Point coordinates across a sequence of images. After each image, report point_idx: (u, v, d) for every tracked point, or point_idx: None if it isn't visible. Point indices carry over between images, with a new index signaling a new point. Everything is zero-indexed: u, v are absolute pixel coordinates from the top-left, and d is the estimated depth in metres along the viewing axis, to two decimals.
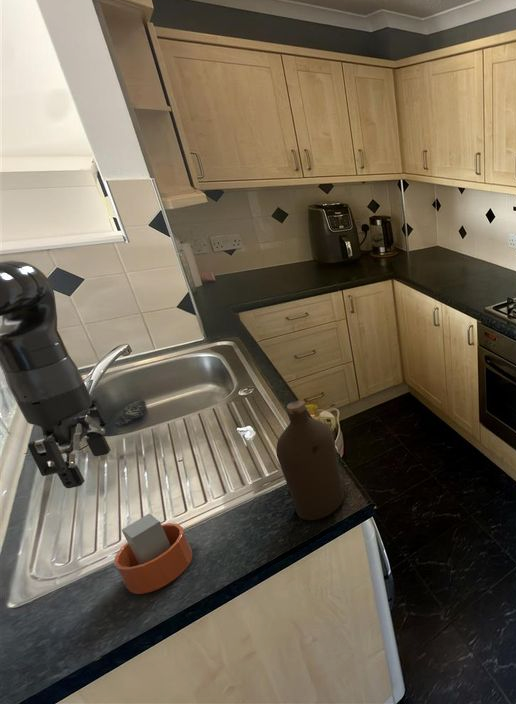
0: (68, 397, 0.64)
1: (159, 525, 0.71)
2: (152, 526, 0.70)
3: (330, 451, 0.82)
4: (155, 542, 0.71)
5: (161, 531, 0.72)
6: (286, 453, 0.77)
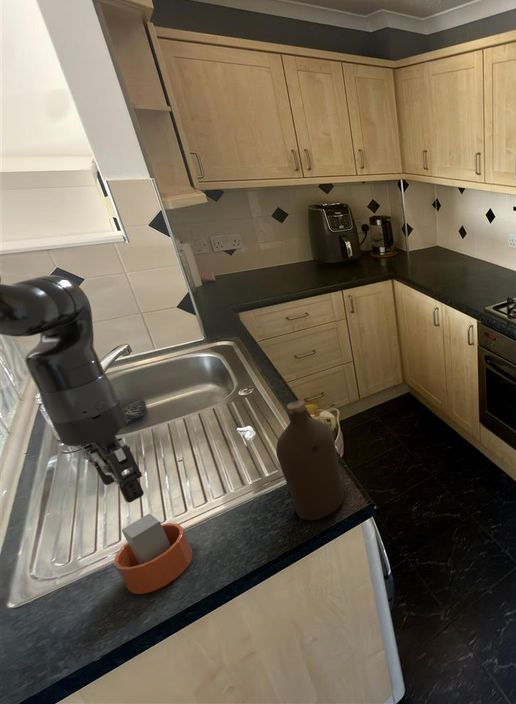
0: (117, 408, 0.64)
1: (159, 525, 0.71)
2: (152, 526, 0.70)
3: (330, 451, 0.82)
4: (155, 542, 0.71)
5: (161, 531, 0.72)
6: (286, 453, 0.77)
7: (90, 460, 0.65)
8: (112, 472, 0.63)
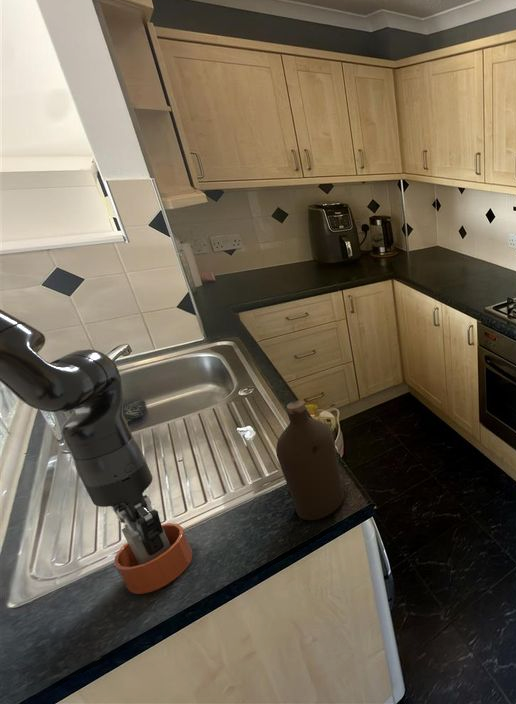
0: (144, 468, 0.68)
1: None
2: None
3: (330, 451, 0.82)
4: None
5: None
6: (286, 453, 0.77)
7: (121, 519, 0.69)
8: (137, 530, 0.68)
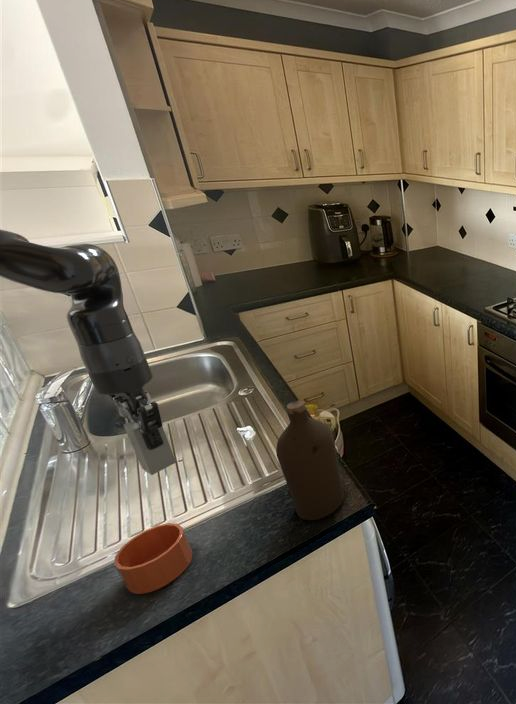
0: (144, 363, 0.72)
1: None
2: None
3: (330, 451, 0.82)
4: None
5: (161, 429, 0.75)
6: (286, 453, 0.77)
7: (122, 414, 0.73)
8: (138, 422, 0.72)
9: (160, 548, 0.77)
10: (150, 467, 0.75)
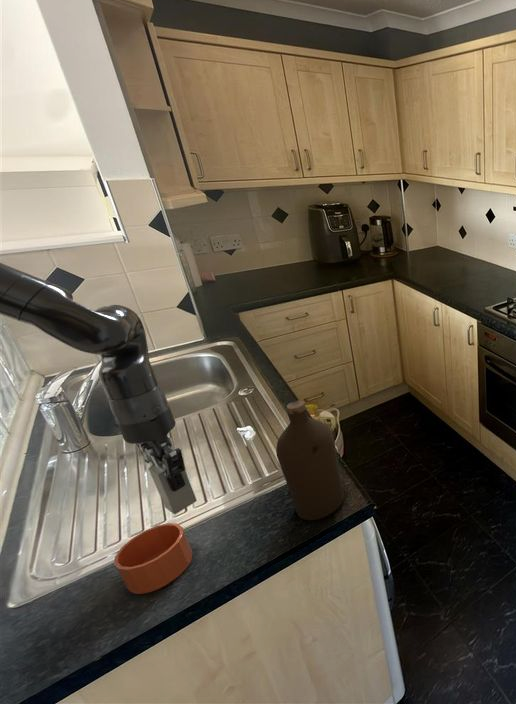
0: (168, 412, 0.77)
1: None
2: None
3: (330, 451, 0.82)
4: None
5: (183, 471, 0.81)
6: (286, 453, 0.77)
7: (148, 458, 0.78)
8: (163, 467, 0.77)
9: (160, 548, 0.77)
10: (173, 507, 0.80)
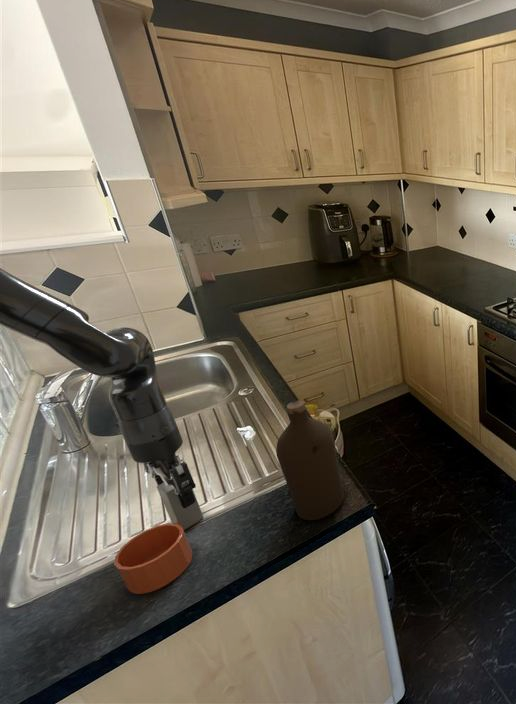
0: (176, 431, 0.78)
1: None
2: (183, 484, 0.81)
3: (330, 451, 0.82)
4: None
5: None
6: (286, 453, 0.77)
7: (152, 473, 0.80)
8: (172, 484, 0.77)
9: (160, 548, 0.77)
10: (181, 524, 0.82)
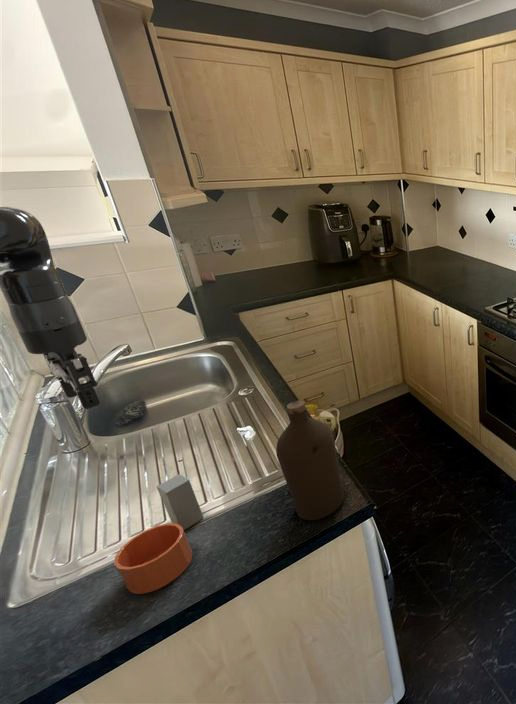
0: (77, 326, 0.74)
1: (188, 483, 0.82)
2: (183, 484, 0.81)
3: (330, 451, 0.82)
4: (185, 498, 0.82)
5: (190, 489, 0.82)
6: (286, 453, 0.77)
7: (54, 372, 0.76)
8: (71, 380, 0.73)
9: (160, 548, 0.77)
10: (181, 524, 0.82)
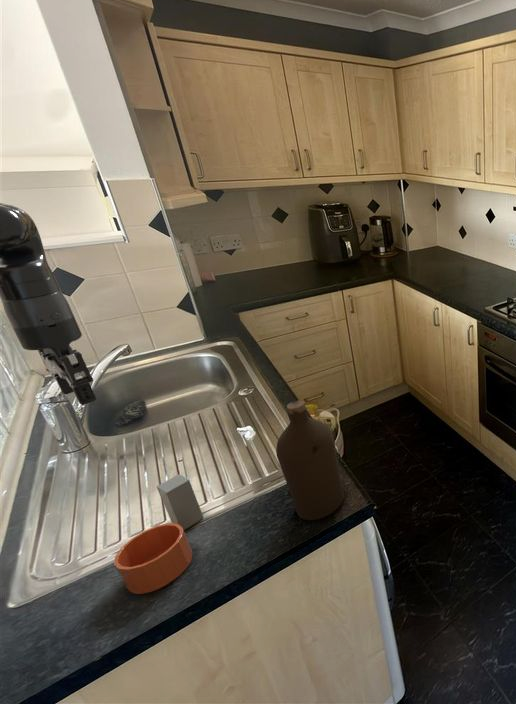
0: (72, 322, 0.74)
1: (188, 483, 0.82)
2: (183, 484, 0.81)
3: (330, 451, 0.82)
4: (185, 498, 0.82)
5: (190, 489, 0.82)
6: (286, 453, 0.77)
7: (49, 369, 0.76)
8: (67, 376, 0.73)
9: (160, 548, 0.77)
10: (181, 524, 0.82)
